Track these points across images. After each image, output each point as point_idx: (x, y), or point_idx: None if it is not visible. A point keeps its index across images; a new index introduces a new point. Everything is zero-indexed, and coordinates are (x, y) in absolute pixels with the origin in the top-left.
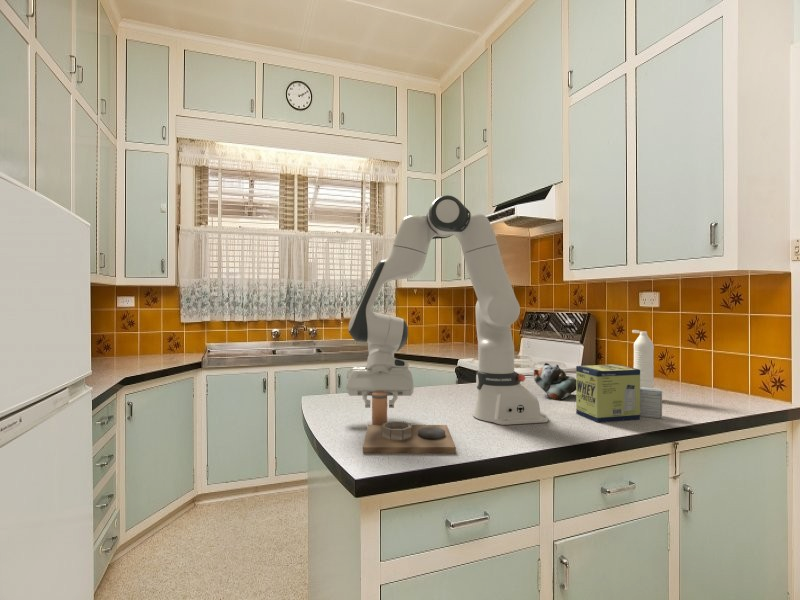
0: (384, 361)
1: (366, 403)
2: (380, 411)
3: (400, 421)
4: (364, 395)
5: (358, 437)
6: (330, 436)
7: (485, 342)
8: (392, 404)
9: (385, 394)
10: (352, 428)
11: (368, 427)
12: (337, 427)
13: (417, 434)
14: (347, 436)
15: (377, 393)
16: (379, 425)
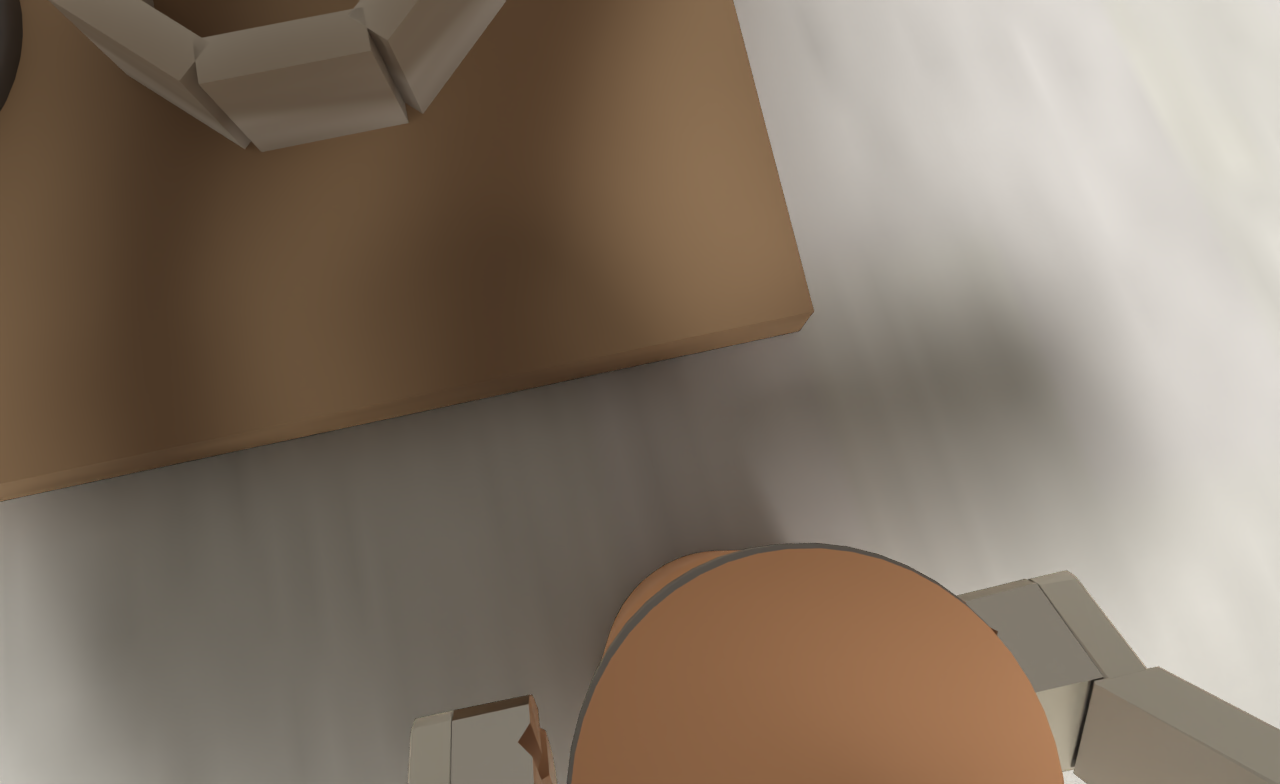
0: None
1: (1057, 596)
2: (692, 560)
3: (221, 66)
4: (1268, 764)
5: (825, 38)
6: (1175, 6)
7: None
8: (447, 718)
9: (594, 685)
10: (1041, 371)
11: (766, 190)
12: (1265, 371)
13: (30, 37)
14: (972, 46)
15: (882, 765)
16: (634, 317)
